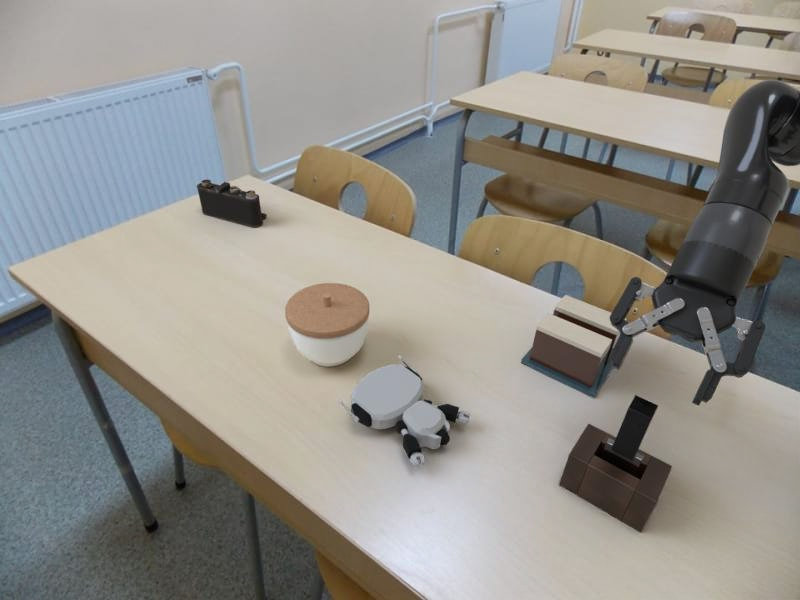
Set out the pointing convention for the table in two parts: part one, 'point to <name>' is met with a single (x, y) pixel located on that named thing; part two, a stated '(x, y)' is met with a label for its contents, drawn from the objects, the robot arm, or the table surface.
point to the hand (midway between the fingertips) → (654, 385)
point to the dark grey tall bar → (630, 436)
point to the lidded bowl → (328, 322)
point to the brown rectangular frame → (614, 480)
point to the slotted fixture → (574, 345)
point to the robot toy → (403, 409)
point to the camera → (230, 203)
